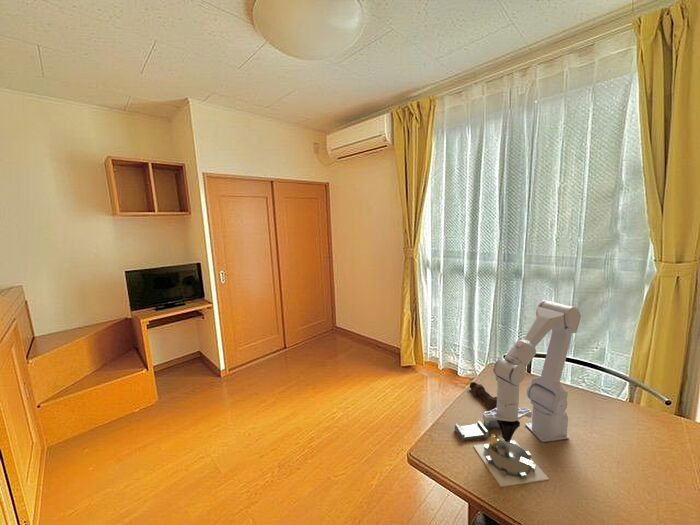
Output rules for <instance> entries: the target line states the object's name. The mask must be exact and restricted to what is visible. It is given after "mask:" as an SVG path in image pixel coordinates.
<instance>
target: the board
mask: <svg viewBox="0 0 700 525" xmlns="http://www.w3.org/2000/svg"><path fill="white" fill-rule="evenodd" d="M511 441H513V442H516V445H518V446H519V447H521V445H520V444H519V443H518V442H517V440H515V439H511ZM490 443H491V442H490ZM490 443H482V444H475V445H473V449H474V450H475V451H476V453H477V454H478V456H479V457H480V458H481V460H482V462H483V463H484V464H485V466H486V467H487V469H488V470H489V472H490V474H491V475H492V476H493V478H494V479H495V481H496V482H497V484H498V485H499V486H500V488H504V487H510V486H517V485H522V484H531V483H537V482H538V483H539V482H545V481H549V480H550V478H549V476H547V474H546V473H545V472H544V471H543V470H542V469H541V467H539V465H538V464H536V462H535V461H534V460H533V458H532V457H531V458H530V460H531V461H532V464H534V465H535V472H532V471H530V472H529V473H528V474H527V477H526V479H521V478H520V477H518V476H511V475H508V474H507V475H506V476H505V475H503V474H501V471H500V470H498V469H497V468H496V467H495V466H494V465H493V464H492V463H491V464H488V462H487V461H486V456H488V452H487V451H485V450H484V446H485V444H487V445H489V444H490Z"/></svg>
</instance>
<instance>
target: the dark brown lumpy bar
mask: <svg viewBox="0 0 700 525" xmlns="http://www.w3.org/2000/svg"><path fill="white" fill-rule="evenodd" d="M469 385H470V386H469V388H470V389H471V391H472V392H473V394H474V395H475V396H476V397H478V398H481V399H482V400H483V401H484V402H485V403H486V406H487V408H488V409H489V411H490V410H493V409H495V408H497V396H492V395H491V394H489V392H487V390H486V389H485V387H484V385H482V384H479V383H477V382H475V381H471V382H469Z"/></svg>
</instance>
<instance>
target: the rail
mask: <svg viewBox="0 0 700 525" xmlns="http://www.w3.org/2000/svg"><path fill="white" fill-rule="evenodd" d="M454 432H455V433H456V435H457V436H458V438H459V439H460V441H461V442H470V441H475V440H476V441H478V440H484V439H488V438H489V431H488V430H487V428H486V427H485V426H484V423H482V422H481V421H480V420H478V421H477V423H472V424H471V423H470V424H464V425H459V424H458V423H454Z"/></svg>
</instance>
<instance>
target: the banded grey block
mask: <svg viewBox="0 0 700 525" xmlns="http://www.w3.org/2000/svg"><path fill="white" fill-rule="evenodd" d="M488 411H489V410H488ZM488 411H484V412H483V413H486V412H488ZM483 426H484V427H485V428H486V429H487V431H488V432H492V431H499V430H500V427H499V424H498V422H497V420H493V421H489V423H486V422H485V421H484V420H483ZM500 431H501V430H500Z"/></svg>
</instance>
